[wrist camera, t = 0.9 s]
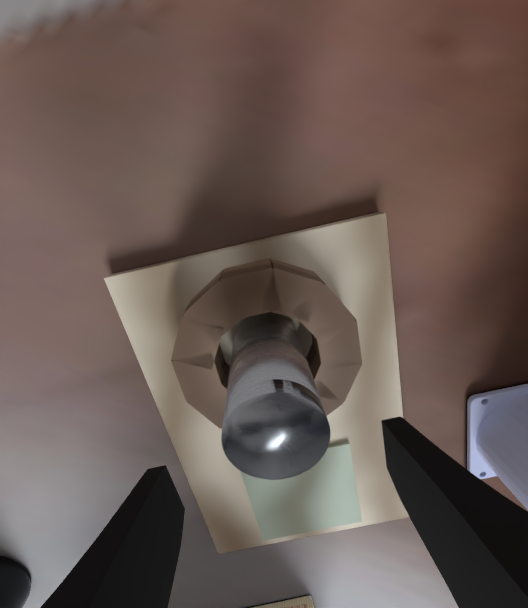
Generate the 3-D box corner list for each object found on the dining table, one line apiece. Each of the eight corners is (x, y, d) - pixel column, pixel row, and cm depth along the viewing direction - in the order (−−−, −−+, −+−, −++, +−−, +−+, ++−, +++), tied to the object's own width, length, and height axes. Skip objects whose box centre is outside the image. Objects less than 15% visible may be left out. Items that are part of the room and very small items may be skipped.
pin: (291, 304, 18) (321, 381, 10) (303, 362, 19) (337, 467, 12) (226, 319, 18) (208, 405, 10) (242, 375, 19) (236, 488, 12)
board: (378, 212, 17) (408, 214, 14) (405, 504, 25) (428, 550, 22) (111, 274, 18) (79, 290, 14) (219, 541, 26) (215, 591, 22)
